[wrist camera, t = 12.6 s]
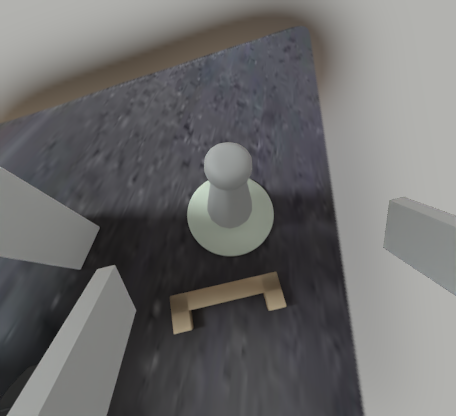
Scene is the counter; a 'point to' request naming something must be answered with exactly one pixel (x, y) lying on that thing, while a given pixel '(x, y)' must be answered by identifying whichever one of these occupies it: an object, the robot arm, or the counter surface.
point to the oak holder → (224, 297)
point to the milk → (41, 226)
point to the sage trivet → (234, 237)
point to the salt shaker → (228, 184)
